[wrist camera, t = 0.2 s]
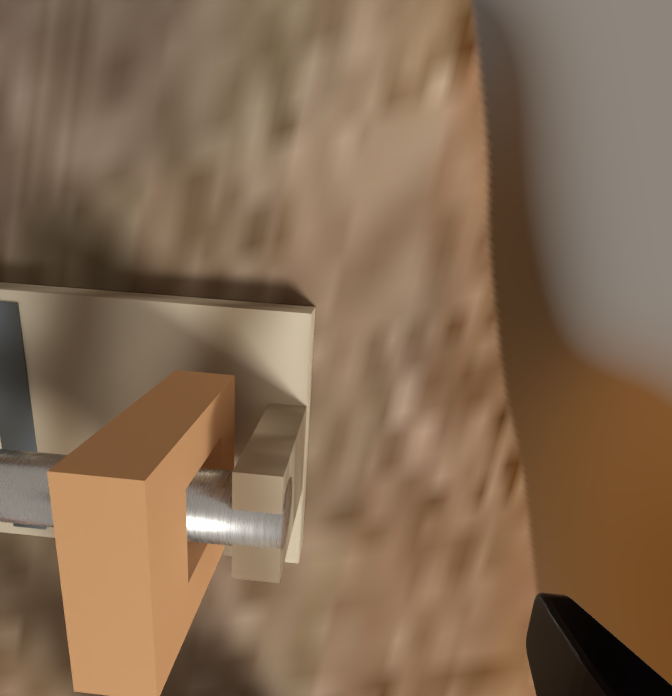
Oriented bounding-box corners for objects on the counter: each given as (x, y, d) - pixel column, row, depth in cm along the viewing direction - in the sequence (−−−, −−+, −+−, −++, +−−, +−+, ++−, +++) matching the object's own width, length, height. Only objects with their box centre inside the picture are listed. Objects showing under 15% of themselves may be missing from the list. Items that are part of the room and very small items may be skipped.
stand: (315, 306, 20) (288, 352, 13) (302, 541, 23) (275, 675, 16) (-126, 272, 21) (-363, 298, 14) (-77, 502, 24) (-250, 613, 17)
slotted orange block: (234, 375, 18) (144, 480, 11) (234, 525, 20) (157, 701, 13) (175, 370, 18) (46, 471, 11) (180, 520, 20) (74, 691, 13)
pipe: (294, 457, 17) (280, 501, 14) (291, 521, 17) (277, 575, 15) (-226, 408, 18) (-329, 441, 15) (-207, 471, 18) (-302, 513, 16)
